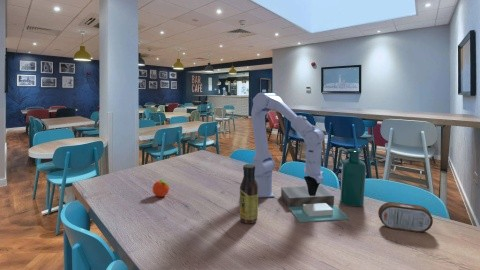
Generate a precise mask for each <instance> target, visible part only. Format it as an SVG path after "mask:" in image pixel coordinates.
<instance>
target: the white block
mask: <svg viewBox="0 0 480 270" xmlns="http://www.w3.org/2000/svg"><path fill="white" fill-rule="evenodd" d="M303 210H304V211H305V212H306V214H307V215H308V216H324V215H333V209H332V208H331V207H330V206H329V205H327V204H326V203H318V204H303Z"/></svg>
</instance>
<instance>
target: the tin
mask: <svg viewBox="0 0 480 270" xmlns="http://www.w3.org/2000/svg"><path fill="white" fill-rule="evenodd" d="M377 213H378V214H377V215H378V218H379V220H380V222H381V223H382V224H383V226H385V227H387V228H389V229H393V230H394V229H395V230H400V231H406V232H407V231H408V232H414V233H424V232H426V231H428V230H430V229H431V228H432V226H433V223H434V218H433V217H432V214H431V212H430V211H429V209H428V208H426V207H424V206H421V205H418V204H409V203H403V202H394V201H389V202H386V203H383V204H381V206H380V207H379V209H378V212H377Z"/></svg>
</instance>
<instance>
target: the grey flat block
mask: <svg viewBox="0 0 480 270" xmlns="http://www.w3.org/2000/svg"><path fill="white" fill-rule="evenodd" d="M280 197H281V198H282V200H283V201H284V203H285V204H286V205H287V207H288V208H289V207H298V206H303V204H318V203H326V204H327V205H335V195H334V194H333V193H331V192H330V191H329V190H327V188H325V187H324V186H323V185H319V186H318V188H317V192H316V195H315V196H310V195H309V193H308V187H307V185H306V186H287V187H286V186H285V187H284V186H282V187H281V190H280Z"/></svg>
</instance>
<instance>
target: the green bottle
mask: <svg viewBox="0 0 480 270" xmlns="http://www.w3.org/2000/svg"><path fill="white" fill-rule="evenodd" d="M342 152H344V154H349V155H348V157H349V158H348V159H347V158H346V159H343V157H342ZM362 152H363V151H362V149H358V148H349V149H348V148H347V149H346V148H344V147H341V146H340V147H339V158H340V162H341V178H340V198H339V199H340V201H339V202H340V204H342V205H344V206H350V207H358V208H359V207H360V208H361V207H363V206H364V205H365V204H364V203H365V190H366V176H367V175H366V174H367V166H366V163H365V162H364V161H363V160H361V159H360V153H362Z"/></svg>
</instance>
